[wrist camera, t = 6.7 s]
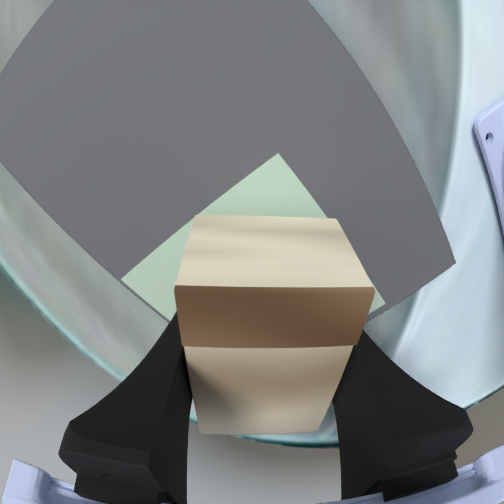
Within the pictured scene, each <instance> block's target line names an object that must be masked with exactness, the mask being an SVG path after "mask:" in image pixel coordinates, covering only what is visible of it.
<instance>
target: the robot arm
mask: <svg viewBox="0 0 504 504" xmlns="http://www.w3.org/2000/svg"><path fill="white" fill-rule="evenodd" d="M474 131H475V134H476V137H477V140H478V142H479V145H480V148H481V151H482V154H483V157H484V160H485V163H486V166H487V170H488V173H489V176H490V180H491V183H492V187H493V191H494V195H495V199H496V203H497V207H498V211H499V215H500V220H501V225H502V230H503V235H504V98H503V99H501V100H500V101H499V102H497V103H496V104H495V105H493V106H492V107H490V108H489V109H488V110H486V111H485V112H483V113H482V114H481V115H479V116H478V117H477V118H476V119H475V122H474ZM487 133H488V139H487V140H486V135H487ZM192 398H193V395H192V389H191V384H190V379H189V373H188V367H187V362H186V356H185V350H184V346H182V342H181V335H180V329H179V323H178V316H177V311H176V313H175V314H174V316H173V318H172V319H171V321H170V323H169V324H168V326H167V327H166V329H165V330H164V332H163V333H162V335H161V336H160V338H159V339H158V341H157V342H156V343H155V345H154V346H153V347H152V349H151V350H150V351H149V353H148V354H147V355H146V356H145V358H144V359H143V360H142V361H141V362H140V364H139V365H138V366H137V367H136V368H135V369H134V370H133V371H132V372H131V374H130V375H129V376H128V377H127V378H126V379H125V380H124V381H122V382H121V383H120V384H119V386H117V387H116V388H115V389H114V390H113V391H112V392H111V393H109V394H108V395H107V396H106V397H104V398H103V399H102V400H100V401H99V402H98V403H97V404H96V405H94V406H93V407H91V408H90V409H89V410H87V411H85V412H84V413H82V414H81V415H79V416H78V417H76V418H75V419H73V420H71V421H70V422H69V425H68V427H67V429H66V431H65V433H64V436H63V440H62V443H61V446H60V450H59V453H58V454H59V457H60V458H61V459H62V461H63V462H64V463H65V464H66V465H68V466H69V467H70V468H71V469H72V470H73V471H74V472H76V473H77V478H76V482H75V484H72V483H69V482H66V481H62V480H59V479H56V478H53V477H51V476H50V475H49V474H48V473H47V472H45V471H44V470H42V469H40V468H38V467H36V466H33V465H31V464H28V463H25V462H23V461H21V460H18V459H14V461H13V464H12V467H11V470H10V473H9V477H8V480H7V484H6V487H5V491H4V495H3V499H2V503H1V504H187V449H188V430H189V429H188V428H189V417H190V409H191V403H192ZM332 402H333V406H334V410H335V415H336V422H337V430H338V439H339V449H340V463H341V492H342V493H341V500H340V501H333V502H327V503H318V504H498V503H500V502H502V501H503V500H504V445H501V446H499V447H497V448H495V449H492V450H490V451H488V452H486V453H484V454H483V455H481V456H480V457H478V458H477V459H476V460H475V461H474V462H473V463H471V464H468V465H466V466H463V467H461V468H458V469H456V466H455V463H454V460H455V459H456V458H457V455H456V452H455V450H456V449H457V448H458V447H459V446H460V445H461V444H463V443H464V442H465V441H466V440H467V439H468V438H469V436H470V435H471V434H472V432H473V426H472V424H471V421H470V419H469V417H468V414H467V412H466V410H465V409H463V408H461V407H459V406H457V405H455V404H453V403H451V402H449V401H447V400H445V399H443V398H441V397H440V396H438V395H436V394H435V393H433V392H432V391H430V390H428V389H427V388H425V387H424V386H423V385H421V384H420V383H418V382H417V381H416V380H414V379H413V378H412V377H410V376H409V375H408V374H407V373H405V372H404V371H403V370H402V369H401V368H400V367H398V366H397V365H396V364H395V363H394V362H393V361H392V360H391V359H390V358H389V357H388V356H387V355H386V354H385V353H384V352H383V351H382V350H381V349H380V348H379V347H378V346H377V345H376V344H375V343H374V342H373V341H372V339H371V338H370V337H369V336H368V335H367V334H366V333H365V331H364V330H362V333H361V336H360V339H359V341H358V344H357V345H354V346H353V348H352V351H351V354H350V356H349V359H348V362H347V364H346V367H345V369H344V372H343V374H342V377H341V379H340V382H339V384H338V387H337V389H336V391H335V394H334V396H333V399H332Z"/></svg>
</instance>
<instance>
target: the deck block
mask: <svg viewBox="0 0 504 504" xmlns="http://www.w3.org/2000/svg"><path fill="white" fill-rule="evenodd" d="M375 292H376V291H375V289H374V287H373V285H372V283H371V281H370V279H369V278H368V276H367V274H366V272H365V270H364V268H363V266H362V264H361V262H360V260H359V259H358V257H357V255H356V253H355V251H354V249H353V247H352V246H351V244H350V242H349V240H348V238H347V237H346V235H345V233H344V231H343V229H342V228H341V226H340V224H339V222H338V221H337V219H333V218H308V217H279V216H239V215H195V218H194V221H193V224H192V228H191V231H190V234H189V238H188V241H187V245H186V248H185V252H184V255H183V259H182V262H181V266H180V269H179V273H178V277H177V280H176V284H175V288H174V295H175V302H176V309H177V316H178V323H179V329H180V335H181V342H182V346H184V350H185V356H186V362H187V367H188V373H189V379H190V384H191V389H192V395H193V400H194V405H195V410H196V415H197V420H198V425H199V429H200V433H204V434H232V435H261V434H290V433H306V432H318V430H319V428H320V426H321V423H322V421H323V419H324V417H325V415H326V412H327V410H328V408H329V406H330V403H331V401H332V399H333V396H334V394H335V391H336V389H337V387H338V384H339V382H340V379H341V377H342V374H343V372H344V369H345V367H346V364H347V362H348V359H349V356H350V354H351V351H352V348H353V346H354V345H357V344H358V341H359V339H360V336H361V333H362V330H363V328H364V325H365V322H366V319H367V316H368V313H369V310H370V307H371V304H372V301H373V298H374V295H375Z"/></svg>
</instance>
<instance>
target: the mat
mask: <svg viewBox="0 0 504 504" xmlns="http://www.w3.org/2000/svg"><path fill="white" fill-rule="evenodd" d="M0 162H1V163H2V164H3V165H4V167H5V168H6V169H7V170H8V171H9V172H10V173H11V175H12V176H13V177H14V178H15V179H16V180H17V181H18V183H19V184H20V185H21V186H22V187H23V188H24V189H25V190H26V191H27V192H28V194H29V195H30V196H31V197H32V198H33V199H34V200H35V201H36V202H37V203H38V204H39V205H40V206H41V207H42V208H43V209H44V210H45V212H46V213H47V214H48V215H49V216H50V217H51V218H52V219H53V220H54V221H55V222H56V223H57V224H58V225H59V226H60V227H61V228H62V229H63V230H64V231H65V232H66V233H67V234H68V235H69V236H70V237H71V238H72V239H73V240H75V241H76V242H77V243H78V244H79V245H80V246H81V247H82V248H83V249H84V250H85V251H86V252H87V253H88V254H89V255H90V256H91V257H93V258H94V259H95V260H96V261H97V262H98V263H99V264H100V265H101V266H102V267H103V268H105V269H106V270H107V271H108V272H109V273H110V274H111V275H112V276H114V277H115V278H116V279H117V280H118V281H119V282H120V283H121V284H123V285H124V286H125V287H126V288H127V289H128V290H130V291H131V292H132V293H133V294H134V295H135V296H137V297H138V298H139V299H140V300H141V301H143V302H144V303H145V304H146V305H147V306H149V307H150V308H151V309H152V310H154V311H155V312H156V313H157V314H158V315H160V316H161V317H162V318H163V319H165V320H166V321H167V322H168V323H170V321H171V319H172V318H173V316H174V314H175V313H176V311H177V309H176V302H175V295H174V288H175V284H176V280H177V277H178V273H179V269H180V266H181V262H182V259H183V255H184V252H185V248H186V245H187V241H188V238H189V234H190V231H191V228H192V224H193V221H194V218H195V215H239V216H279V217H308V218H333V219H337V221H338V222H339V224H340V226H341V228H342V229H343V231H344V233H345V235H346V237H347V238H348V240H349V242H350V244H351V246H352V247H353V249H354V251H355V253H356V255H357V257H358V259H359V260H360V262H361V264H362V266H363V268H364V270H365V272H366V274H367V276H368V278H369V279H370V281H371V283H372V285H373V287H374V289H375V291H376V292H375V295H374V298H373V301H372V304H371V307H370V310H369V313H368V316H367V319H366V322H367V321H369V320H371V319H372V318H374V317H375V316H377V315H379V314H380V313H382V312H384V311H385V310H387V309H388V308H390V307H392V306H393V305H395V304H396V303H398V302H400V301H401V300H403V299H404V298H406V297H407V296H409V295H410V294H412V293H413V292H415V291H416V290H418V289H419V288H421V287H422V286H424V285H425V284H427V283H428V282H430V281H431V280H433V279H434V278H435V277H437V276H438V275H440V274H441V273H443V272H444V271H445V270H447V269H448V268H450V267H451V266H452V265H454V264H455V263H456V262H455V259H454V256H453V253H452V250H451V247H450V244H449V242H448V239H447V236H446V234H445V231H444V228H443V226H442V223H441V221H440V218H439V216H438V213H437V211H436V208H435V206H434V204H433V201H432V199H431V197H430V195H429V192H428V190H427V188H426V186H425V183H424V181H423V179H422V177H421V175H420V173H419V171H418V169H417V166H416V164H415V162H414V160H413V158H412V156H411V154H410V152H409V151H408V149H407V147H406V145H405V143H404V141H403V139H402V137H401V135H400V134H399V132H398V130H397V128H396V126H395V125H394V123H393V121H392V119H391V118H390V116H389V114H388V112H387V111H386V109H385V107H384V106H383V104H382V102H381V101H380V99H379V97H378V96H377V94H376V93H375V91H374V89H373V88H372V86H371V85H370V83H369V82H368V80H367V79H366V77H365V75H364V74H363V72H362V71H361V70H360V68H359V67H358V65H357V64H356V62H355V61H354V59H353V58H352V57H351V55H350V54H349V52H348V51H347V50H346V48H345V47H344V45H343V44H342V43H341V41H340V40H339V39H338V37H337V36H336V35H335V33H334V32H333V31H332V30H331V28H330V27H329V26H328V25H327V23H326V22H325V21H324V20H323V18H322V17H321V16H320V15H319V13H318V12H317V11H316V10H315V9H314V7H313V6H312V5H311V4H310V3H309V2H308V0H54V1H53V3H52V4H51V5H50V6H49V7H48V8H47V10H46V11H45V12H44V13H43V14H42V16H41V17H40V18H39V19H38V21H37V22H36V23H35V24H34V26H33V27H32V28H31V30H30V31H29V32H28V34H27V35H26V36H25V38H24V39H23V41H22V42H21V43H20V45H19V46H18V48H17V49H16V50H15V52H14V53H13V55H12V56H11V58H10V59H9V61H8V63H7V64H6V66H5V67H4V69H3V70H2V72H1V74H0ZM366 322H365V323H366Z"/></svg>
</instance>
